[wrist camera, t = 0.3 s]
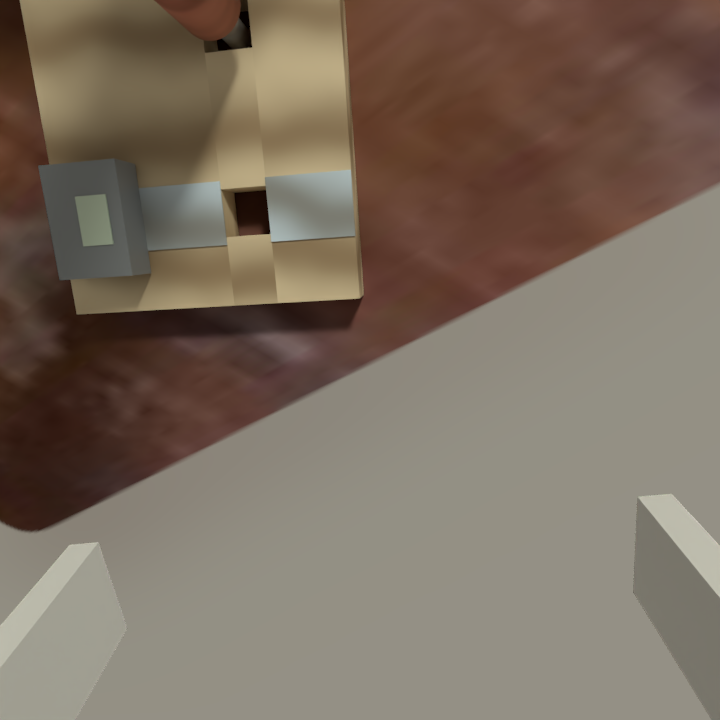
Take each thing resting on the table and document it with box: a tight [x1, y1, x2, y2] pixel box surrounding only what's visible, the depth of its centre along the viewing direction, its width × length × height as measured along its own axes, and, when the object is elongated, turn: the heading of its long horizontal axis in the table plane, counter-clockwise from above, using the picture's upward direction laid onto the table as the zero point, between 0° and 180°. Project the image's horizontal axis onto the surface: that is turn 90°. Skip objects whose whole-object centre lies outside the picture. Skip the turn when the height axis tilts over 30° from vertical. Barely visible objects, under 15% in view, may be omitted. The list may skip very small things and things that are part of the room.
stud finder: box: [38, 159, 151, 280], centre depth 34 cm, size 7×5×2 cm
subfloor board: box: [20, 0, 364, 315], centre depth 35 cm, size 22×20×3 cm
